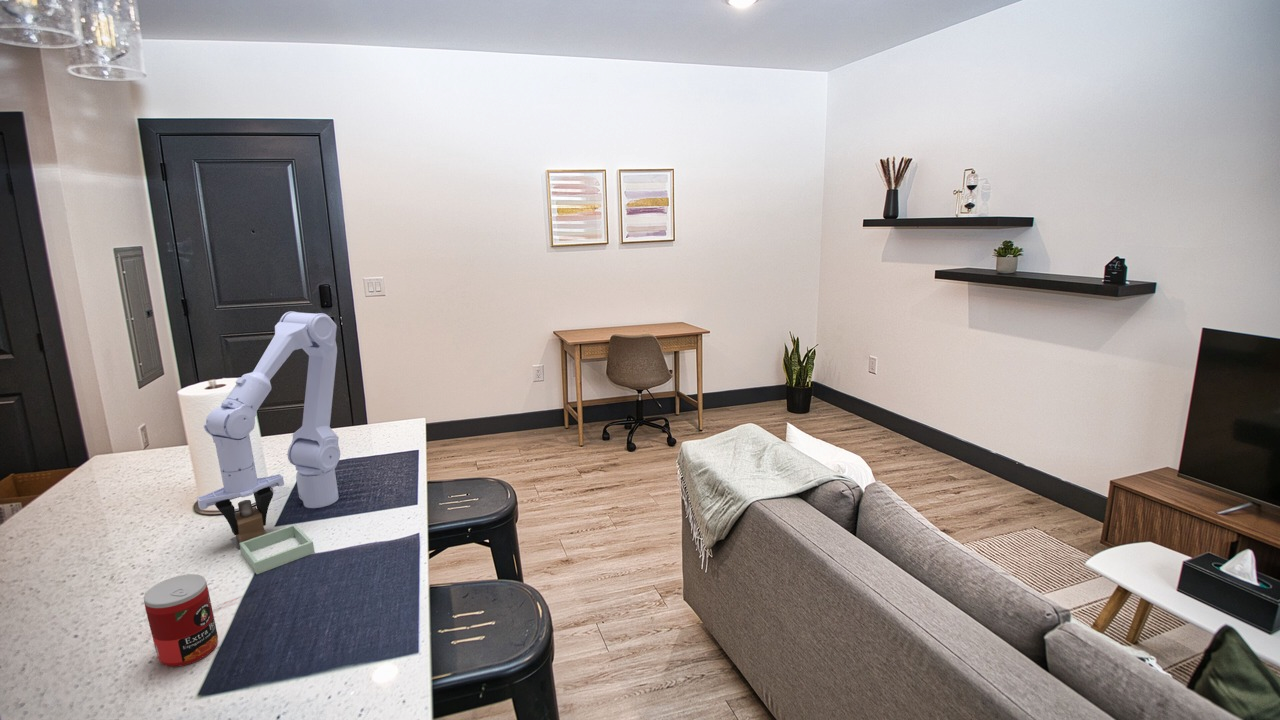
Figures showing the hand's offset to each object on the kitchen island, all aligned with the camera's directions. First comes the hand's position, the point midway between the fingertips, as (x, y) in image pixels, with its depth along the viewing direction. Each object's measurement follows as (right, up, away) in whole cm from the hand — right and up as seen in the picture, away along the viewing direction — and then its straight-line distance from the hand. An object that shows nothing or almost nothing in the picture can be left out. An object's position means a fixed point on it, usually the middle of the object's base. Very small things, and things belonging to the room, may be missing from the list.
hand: (249, 528), depth 126 cm
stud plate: (0, -3, +1) cm, 3 cm away
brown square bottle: (0, -2, +1) cm, 2 cm away
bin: (+9, -5, -5) cm, 11 cm away
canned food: (+9, -11, -29) cm, 32 cm away
